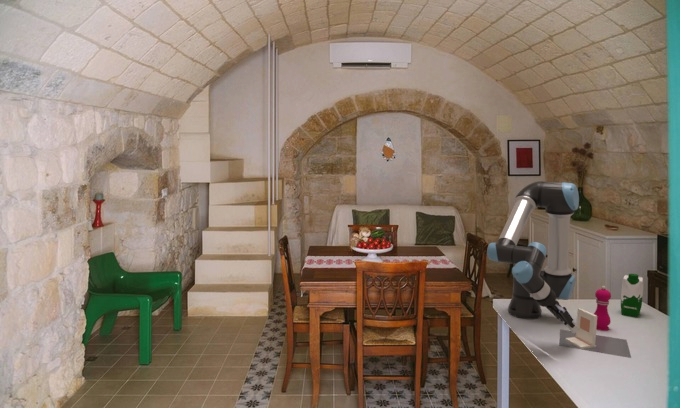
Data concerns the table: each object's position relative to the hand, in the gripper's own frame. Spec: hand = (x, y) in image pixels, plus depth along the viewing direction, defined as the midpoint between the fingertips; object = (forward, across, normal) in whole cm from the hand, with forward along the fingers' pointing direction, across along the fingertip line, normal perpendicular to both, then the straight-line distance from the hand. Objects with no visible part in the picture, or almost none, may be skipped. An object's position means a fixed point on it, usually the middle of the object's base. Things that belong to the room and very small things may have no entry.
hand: (575, 330), depth 194 cm
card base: (+6, 0, -2) cm, 7 cm away
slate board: (+11, 0, +1) cm, 11 cm away
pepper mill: (+22, -13, +12) cm, 28 cm away
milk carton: (+43, -26, +33) cm, 60 cm away
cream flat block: (+8, 0, +1) cm, 8 cm away
